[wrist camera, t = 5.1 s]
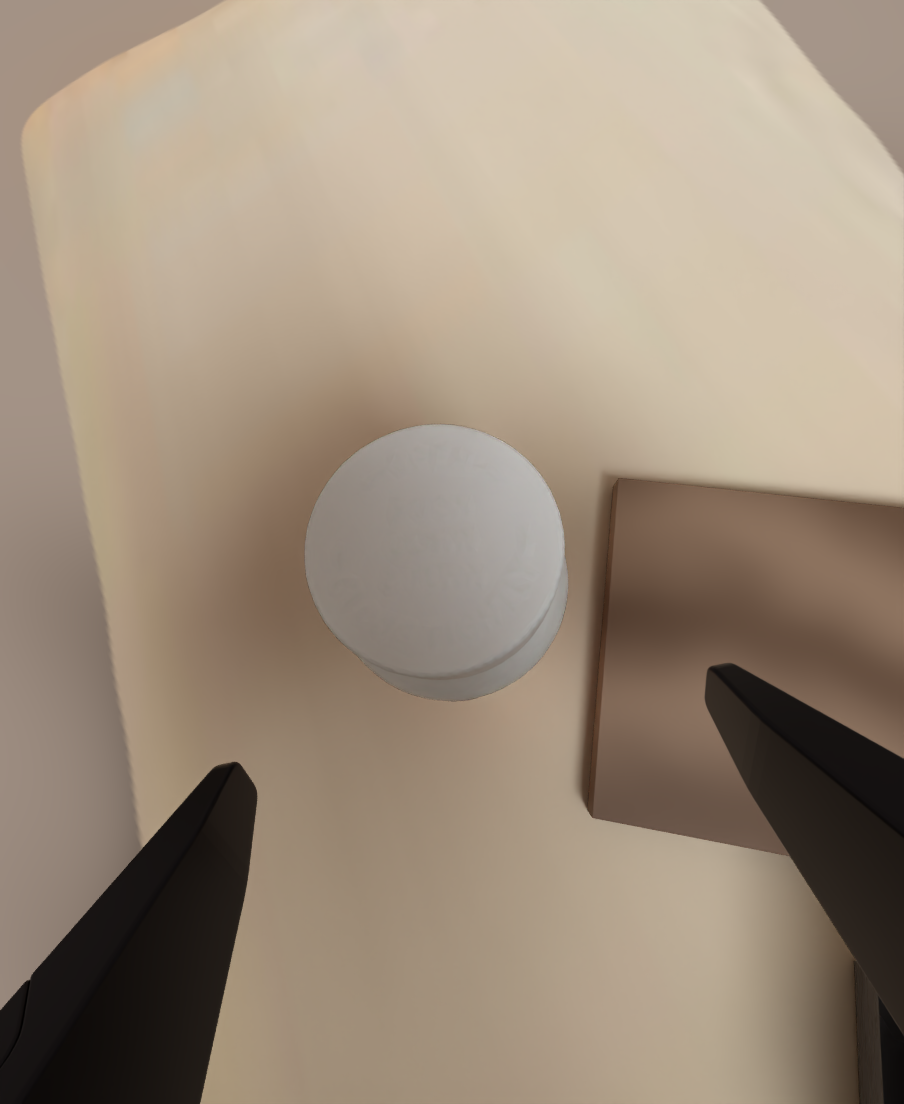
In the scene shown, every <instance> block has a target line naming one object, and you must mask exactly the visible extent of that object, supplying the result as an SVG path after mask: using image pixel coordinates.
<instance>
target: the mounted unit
mask: <svg viewBox="0 0 904 1104" xmlns="http://www.w3.org/2000/svg"><path fill="white" fill-rule="evenodd" d="M854 966H855V990H856V1015H857V1040H858V1064H859V1089H860V1104H904V1035H903V1033H902V1032H901V1030H900V1029H899V1027H898V1025H897V1024H896V1022H895V1021H894V1019H893V1018H892V1016H891V1014H890V1013H889V1011H888V1010H887V1008H886V1007H885V1005H884V1003H883V1002H882V1000H881V999H880V997H879V996H878V994H877V992H876V991H875V989H874V988H873V986H872V984H871V983H870V981H869V980H868V978H867V977H866V975H865V973H864V972H863V970H862V969H861V967H860V966H859V964H858V962H857V961H854Z"/></svg>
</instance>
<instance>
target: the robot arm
mask: <svg viewBox="0 0 904 1104" xmlns="http://www.w3.org/2000/svg"><path fill="white" fill-rule="evenodd" d="M704 698H705V704H706V707H707V709H708V711H709V713H710V715H711V717H712V719H713V721H714V723H715V725H716V727H717V729H718V731H719V733H720V735H721V737H722V739H723V741H724V743H725V745H726V747H727V749H728V751H729V753H730V755H731V757H732V759H733V761H734V763H735V765H736V767H737V769H738V771H739V773H740V775H741V777H742V779H743V781H744V783H745V785H746V787H747V788H748V790H749V792H750V793H751V795H752V797H753V798H754V800H755V802H756V803H757V805H758V807H759V808H760V810H761V811H762V813H763V814H764V816H765V818H766V819H767V821H768V822H769V824H770V825H771V827H772V829H773V830H774V832H775V833H776V835H777V836H778V838H779V840H780V841H781V843H782V844H783V846H784V847H785V849H786V851H787V852H788V854H789V855H790V857H791V858H792V860H793V862H794V863H795V865H796V866H797V868H798V870H799V871H800V873H801V874H802V876H803V877H804V879H805V881H806V882H807V884H808V885H809V887H810V888H811V890H812V892H813V893H814V895H815V896H816V898H817V899H818V901H819V903H820V904H821V906H822V907H823V909H824V910H825V912H826V914H827V915H828V917H829V918H830V920H831V921H832V923H833V925H834V926H835V928H836V929H837V931H838V933H839V934H840V936H841V937H842V939H843V940H844V942H845V944H846V945H847V947H848V948H849V950H850V951H851V953H852V955H853V956H854V958H855V959H856V961H857V962H858V964H859V966H860V967H861V969H862V970H863V972H864V973H865V975H866V977H867V978H868V980H869V981H870V983H871V984H872V986H873V988H874V989H875V991H876V992H877V994H878V996H879V997H880V999H881V1000H882V1002H883V1003H884V1005H885V1007H886V1008H887V1010H888V1011H889V1013H890V1014H891V1016H892V1018H893V1019H894V1021H895V1022H896V1024H897V1025H898V1027H899V1029H900V1030H901V1032H902V1033H903V1035H904V758H902V757H901V756H899V755H897V754H895V753H893V752H892V751H890V750H888V749H886V748H885V747H883V746H881V745H879V744H877V743H876V742H874V741H872V740H870V739H868V738H867V737H865V736H863V735H861V734H859V733H858V732H856V731H854V730H852V729H851V728H849V727H847V726H845V725H843V724H842V723H840V722H838V721H836V720H834V719H833V718H831V717H829V716H827V715H825V714H824V713H822V712H820V711H818V710H817V709H815V708H813V707H811V706H809V705H808V704H806V703H804V702H802V701H800V700H799V699H797V698H795V697H793V696H791V695H790V694H788V693H786V692H784V691H783V690H781V689H779V688H777V687H775V686H774V685H772V684H770V683H768V682H766V681H765V680H763V679H761V678H759V677H757V676H756V675H754V674H752V673H750V672H749V671H747V670H745V669H743V668H741V667H740V666H738V665H736V664H733V663H723V664H718V665H713V666H710V667H709V668H708V670H707V674H706V685H705V695H704ZM256 806H257V790H256V787H255V785H254V783H253V782H252V780H251V779H250V777H249V776H248V774H247V773H246V771H245V770H244V769H243V767H242V766H241V764H239V763H237V762H231V763H226V764H221V765H218V766H216V767H214V768H213V769H212V770H211V771H210V772H209V773H208V774H207V775H206V777H205V778H204V779H203V780H202V781H201V782H200V783H199V785H198V786H197V787H196V788H195V789H194V790H193V791H192V793H191V794H190V795H189V796H188V797H187V798H186V799H185V801H184V802H183V803H182V804H181V805H180V806H179V807H178V809H177V810H176V811H175V812H174V813H173V814H172V815H171V817H170V818H169V819H168V820H167V821H166V822H165V823H164V825H163V826H162V827H161V828H160V829H159V830H158V831H157V832H156V834H155V835H154V836H153V837H152V838H151V839H150V840H149V842H148V843H147V844H146V845H145V846H144V847H143V848H142V850H141V851H140V852H139V853H138V854H137V855H136V857H135V858H134V859H133V860H132V861H131V862H130V863H129V864H128V866H127V867H126V868H125V869H124V870H123V871H122V872H121V874H120V875H119V876H118V877H117V878H116V880H114V882H113V883H112V884H111V885H110V886H109V887H108V888H107V889H106V891H105V892H104V893H103V894H102V895H101V896H100V897H99V899H98V900H97V901H96V902H95V903H94V904H93V905H92V907H91V908H90V909H89V910H88V911H87V913H86V914H85V915H84V916H83V917H82V918H81V919H80V920H79V921H78V923H77V924H76V925H75V926H74V927H73V928H72V929H71V931H70V932H69V933H68V934H67V935H66V936H65V938H64V939H63V940H62V941H61V942H60V943H59V944H58V945H57V947H56V948H55V949H54V950H53V951H52V952H51V954H50V955H49V956H48V957H47V958H46V959H45V960H44V961H43V963H42V964H41V965H40V966H39V967H38V968H37V969H36V970H35V972H34V973H33V974H32V976H31V979H30V980H27V981H26V982H25V983H24V984H23V985H22V986H21V988H19V990H18V991H17V992H16V993H15V994H14V995H13V997H12V998H11V999H10V1000H9V1001H8V1002H7V1003H6V1004H5V1006H4V1007H3V1008H2V1009H1V1010H0V1104H200V1102H201V1097H202V1092H203V1088H204V1083H205V1079H206V1074H207V1069H208V1065H209V1060H210V1055H211V1051H212V1046H213V1041H214V1037H215V1032H216V1027H217V1023H218V1018H219V1013H220V1009H221V1004H222V999H223V995H224V990H225V986H226V981H227V976H228V972H229V967H230V962H231V958H232V953H233V948H234V944H235V939H236V934H237V930H238V925H239V920H240V916H241V911H242V907H243V902H244V897H245V892H246V887H247V881H248V874H249V866H250V857H251V849H252V840H253V832H254V823H255V814H256Z"/></svg>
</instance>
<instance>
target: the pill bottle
mask: <svg viewBox="0 0 904 1104" xmlns="http://www.w3.org/2000/svg"><path fill="white" fill-rule="evenodd" d="M564 553H565V541H564V530H563V525H562V520H561V516H560V512H559V509H558V507H557V504H556V501H555V499H554V497H553V495H552V492H551V490H550V488H549V487H548V485H547V483H546V482H545V480H544V479H543V477H542V476H541V474H540V473H539V472H538V471H537V470H536V468H535V467H534V466H533V465H532V464H531V463H530V462H529V461H528V460H527V459H526V458H525V457H524V456H523V455H522V454H520V453H519V452H518V451H517V450H516V449H514V448H513V447H511V446H510V445H508V444H507V443H505V442H503V441H502V440H500V439H498V438H496V437H494V436H491V435H489V434H487V433H485V432H482V431H479V430H476V429H472V428H468V427H464V426H458V425H451V424H428V425H420V426H414V427H409V428H405V429H401V430H397V431H395V432H392V433H390V434H387V435H385V436H383V437H380V438H378V439H376V440H374V441H373V442H371V443H369V444H367V445H366V446H364V447H363V448H361V449H360V450H358V451H357V452H356V453H354V454H353V455H352V456H351V457H350V458H348V459H347V460H346V461H345V462H344V463H343V464H342V465H341V466H340V467H339V468H338V469H337V471H336V472H335V473H334V474H333V476H332V477H331V478H330V480H329V481H328V482H327V484H326V485H325V487H324V489H323V490H322V492H321V494H320V496H319V497H318V499H317V501H316V504H315V506H314V508H313V511H312V514H311V517H310V520H309V523H308V526H307V532H306V539H305V572H306V578H307V582H308V587H309V589H310V592H311V595H312V598H313V601H314V603H315V606H316V608H317V609H318V611H319V613H320V615H321V617H322V619H323V621H324V622H325V624H326V625H327V626H328V628H329V629H330V630H331V631H332V633H333V634H334V635H335V636H336V638H337V639H339V640H340V641H341V642H342V643H343V644H344V645H345V646H346V647H347V648H348V649H349V650H351V651H352V652H353V653H354V654H356V655H357V656H358V657H359V658H360V660H361V661H362V662H363V663H364V664H365V665H366V666H367V667H368V668H369V669H370V670H372V671H373V672H374V673H375V674H376V675H377V676H379V677H380V678H381V679H382V680H384V681H385V682H387V683H388V684H390V685H392V686H394V687H396V688H397V689H399V690H402V691H404V692H406V693H409V694H412V695H415V696H419V697H422V698H427V699H432V700H442V701H465V700H471V699H475V698H478V697H481V696H485V695H488V694H491V693H493V692H496V691H498V690H500V689H502V688H504V687H506V686H508V685H510V684H511V683H513V682H515V681H517V680H518V679H519V678H521V677H522V676H523V675H524V674H526V673H527V672H528V671H529V670H530V669H532V668H533V666H534V665H535V664H536V663H537V662H538V661H539V660H540V659H541V658H542V656H543V655H544V654H545V652H546V651H547V650H548V648H549V646H550V645H551V643H552V641H553V640H554V638H555V636H556V634H557V632H558V630H559V628H560V625H561V622H562V619H563V616H564V612H565V608H566V603H567V596H568V570H567V564H566V558H565V554H564Z"/></svg>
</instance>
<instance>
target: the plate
mask: <svg viewBox="0 0 904 1104" xmlns="http://www.w3.org/2000/svg"><path fill="white" fill-rule="evenodd" d="M723 663H733V664H736V665H738V666H740V667H741V668H743V669H745V670H747V671H749V672H750V673H752V674H754V675H756V676H757V677H759V678H761V679H763V680H765V681H766V682H768V683H770V684H772V685H774V686H775V687H777V688H779V689H781V690H783V691H784V692H786V693H788V694H790V695H791V696H793V697H795V698H797V699H799V700H800V701H802V702H804V703H806V704H808V705H809V706H811V707H813V708H815V709H817V710H818V711H820V712H822V713H824V714H825V715H827V716H829V717H831V718H833V719H834V720H836V721H838V722H840V723H842V724H843V725H845V726H847V727H849V728H851V729H852V730H854V731H856V732H858V733H859V734H861V735H863V736H865V737H867V738H868V739H870V740H872V741H874V742H876V743H877V744H879V745H881V746H883V747H885V748H886V749H888V750H890V751H892V752H893V753H895V754H897V755H899V756H901V757H902V758H904V508H900V507H890V506H880V505H871V504H861V503H852V502H842V501H833V500H823V499H814V498H804V497H795V496H785V495H776V494H766V493H757V492H747V491H737V490H728V489H718V488H709V487H699V486H690V485H680V484H671V483H661V482H652V481H642V480H633V479H623V478H618V480H617V482H616V483H615V485H614V487H613V495H612V507H611V520H610V532H609V545H608V557H607V570H606V582H605V595H604V608H603V620H602V633H601V645H600V658H599V670H598V683H597V695H596V708H595V720H594V733H593V746H592V758H591V771H590V783H589V796H588V808H587V810H588V812H589V813H590V815H591V816H592V818H596V819H601V820H606V821H611V822H616V823H622V824H627V825H632V826H637V827H642V828H647V829H652V830H658V831H663V832H668V833H673V834H678V835H683V836H689V837H694V838H699V839H704V840H709V841H714V842H720V843H725V844H730V845H735V846H740V847H745V848H751V849H756V850H761V851H766V852H771V853H776V854H781V855H787V856H790V855H789V854H788V852H787V851H786V849H785V847H784V846H783V844H782V843H781V841H780V840H779V838H778V836H777V835H776V833H775V832H774V830H773V829H772V827H771V825H770V824H769V822H768V821H767V819H766V818H765V816H764V814H763V813H762V811H761V810H760V808H759V807H758V805H757V803H756V802H755V800H754V798H753V797H752V795H751V793H750V792H749V790H748V788H747V787H746V785H745V783H744V781H743V779H742V777H741V775H740V773H739V771H738V769H737V767H736V765H735V763H734V761H733V759H732V757H731V755H730V753H729V751H728V749H727V747H726V745H725V743H724V741H723V739H722V737H721V735H720V733H719V731H718V729H717V727H716V725H715V723H714V721H713V719H712V717H711V715H710V713H709V711H708V709H707V707H706V704H705V698H704V695H705V685H706V674H707V670H708V668H709V667H710V666H713V665H718V664H723Z"/></svg>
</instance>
